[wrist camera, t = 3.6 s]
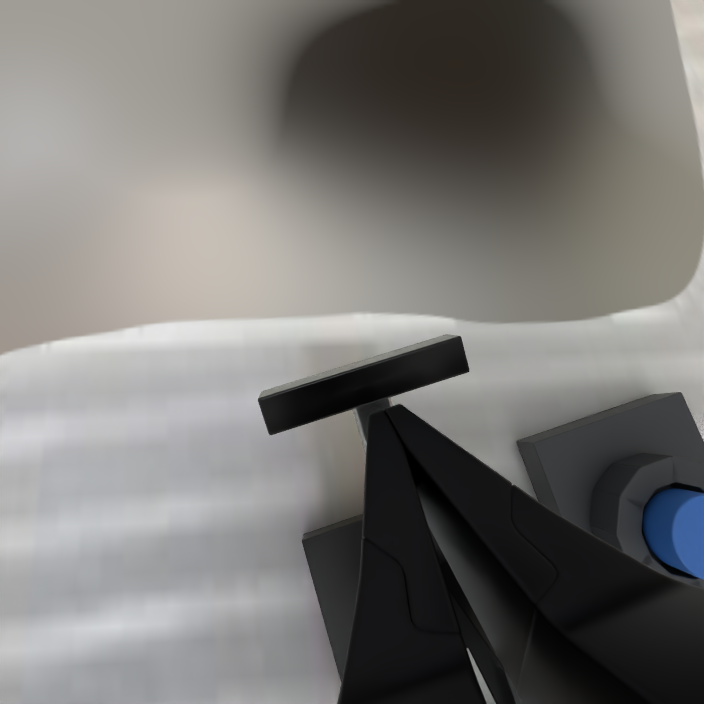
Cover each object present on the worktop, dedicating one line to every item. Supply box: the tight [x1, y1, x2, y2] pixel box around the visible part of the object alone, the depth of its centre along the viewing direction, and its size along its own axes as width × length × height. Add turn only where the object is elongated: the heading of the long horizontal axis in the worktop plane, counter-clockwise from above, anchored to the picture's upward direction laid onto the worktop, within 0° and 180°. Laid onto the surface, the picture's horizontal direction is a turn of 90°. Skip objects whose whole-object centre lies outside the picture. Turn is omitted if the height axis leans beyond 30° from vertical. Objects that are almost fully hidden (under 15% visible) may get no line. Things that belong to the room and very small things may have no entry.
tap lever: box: [258, 335, 498, 704], centre depth 12 cm, size 14×6×2 cm, turn 18°
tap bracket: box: [302, 514, 523, 704], centre depth 16 cm, size 11×9×10 cm
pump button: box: [642, 488, 704, 580], centre depth 18 cm, size 4×4×2 cm
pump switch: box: [517, 392, 704, 588], centre depth 20 cm, size 11×9×4 cm
